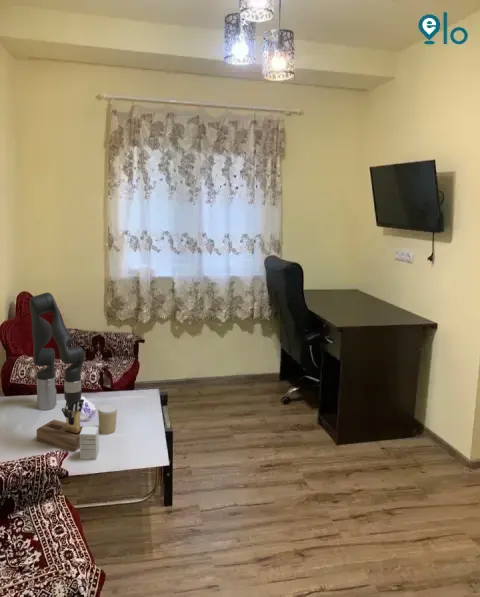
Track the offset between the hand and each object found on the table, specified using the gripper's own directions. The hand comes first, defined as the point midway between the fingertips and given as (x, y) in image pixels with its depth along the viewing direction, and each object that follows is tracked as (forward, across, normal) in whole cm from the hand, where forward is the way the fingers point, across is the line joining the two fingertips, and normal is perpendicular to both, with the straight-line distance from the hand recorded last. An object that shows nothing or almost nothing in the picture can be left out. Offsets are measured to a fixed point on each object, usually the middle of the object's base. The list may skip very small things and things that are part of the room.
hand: (73, 423), depth 246 cm
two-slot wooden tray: (+10, 0, -6) cm, 12 cm away
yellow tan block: (+4, 0, 0) cm, 4 cm away
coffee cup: (+11, -18, +6) cm, 22 cm away
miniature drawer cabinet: (+11, +6, +14) cm, 18 cm away
